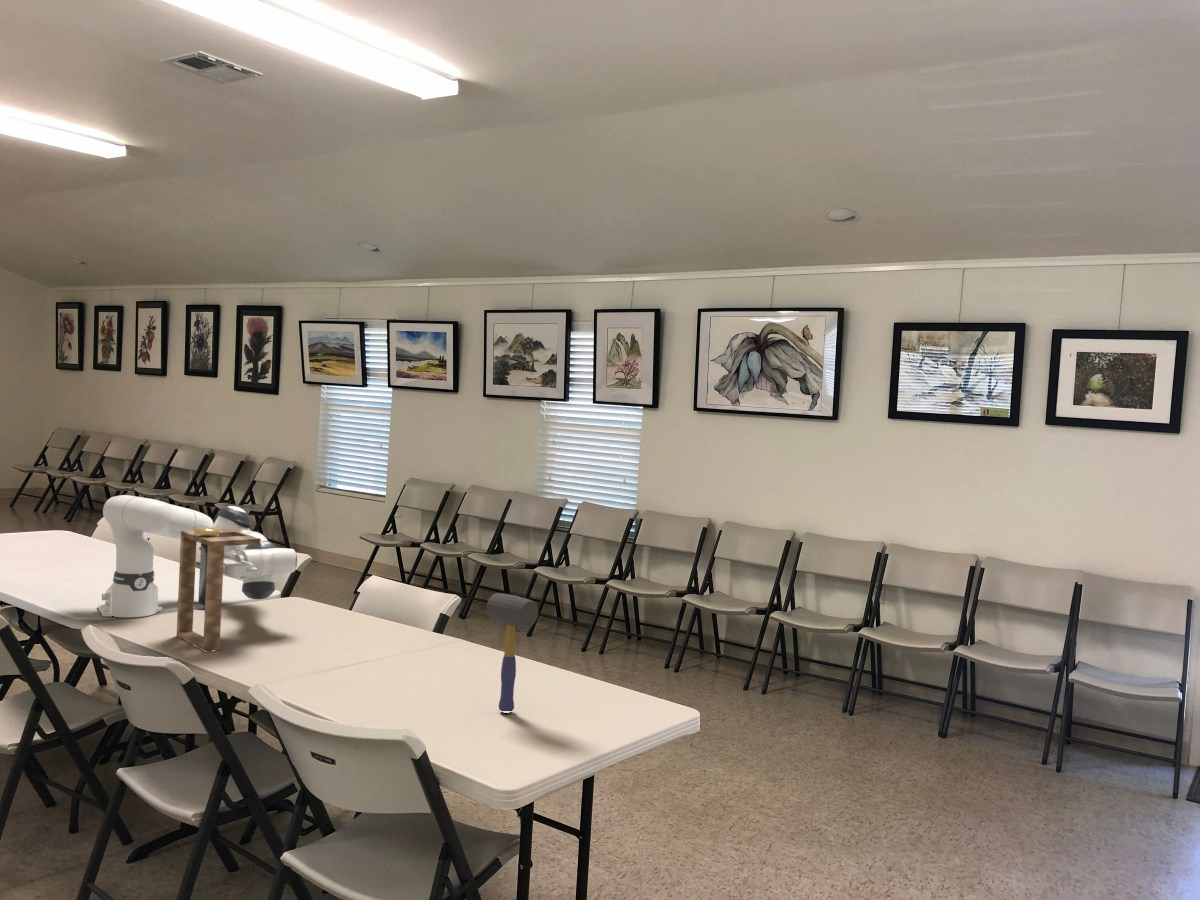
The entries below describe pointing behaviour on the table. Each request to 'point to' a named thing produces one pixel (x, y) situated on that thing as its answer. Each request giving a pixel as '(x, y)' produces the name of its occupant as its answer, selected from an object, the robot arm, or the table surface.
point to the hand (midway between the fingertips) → (202, 567)
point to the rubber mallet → (510, 636)
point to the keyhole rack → (212, 585)
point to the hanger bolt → (203, 564)
